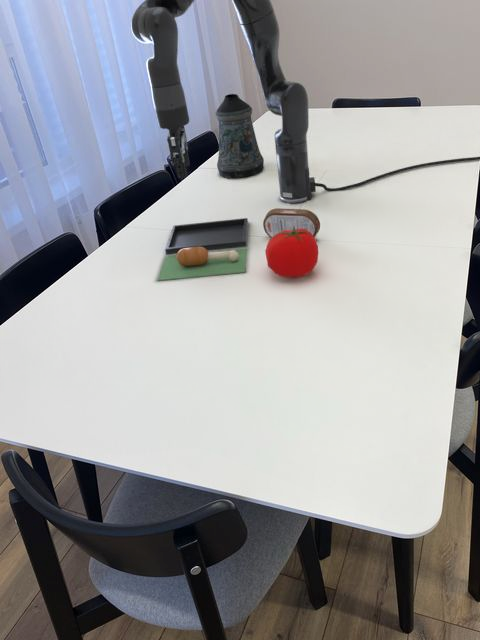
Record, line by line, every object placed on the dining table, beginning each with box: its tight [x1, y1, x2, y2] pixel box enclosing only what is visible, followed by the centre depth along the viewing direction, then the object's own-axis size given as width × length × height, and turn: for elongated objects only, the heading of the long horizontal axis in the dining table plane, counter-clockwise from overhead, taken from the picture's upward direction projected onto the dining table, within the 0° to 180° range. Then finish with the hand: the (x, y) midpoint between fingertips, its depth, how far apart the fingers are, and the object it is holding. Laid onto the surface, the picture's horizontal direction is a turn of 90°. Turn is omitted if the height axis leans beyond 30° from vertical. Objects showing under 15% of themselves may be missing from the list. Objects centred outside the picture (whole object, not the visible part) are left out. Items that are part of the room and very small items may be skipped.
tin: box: [262, 207, 321, 239], centre depth 151 cm, size 15×3×8 cm, turn 71°
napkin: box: [157, 247, 248, 282], centre depth 147 cm, size 22×13×1 cm, turn 89°
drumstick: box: [176, 247, 239, 266], centre depth 145 cm, size 16×5×5 cm, turn 89°
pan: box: [164, 217, 249, 256], centre depth 159 cm, size 22×16×2 cm
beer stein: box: [215, 93, 265, 180], centre depth 197 cm, size 16×19×25 cm
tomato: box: [265, 226, 319, 278], centre depth 135 cm, size 13×12×11 cm
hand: (184, 171), depth 145 cm, fingers open, 8 cm apart
